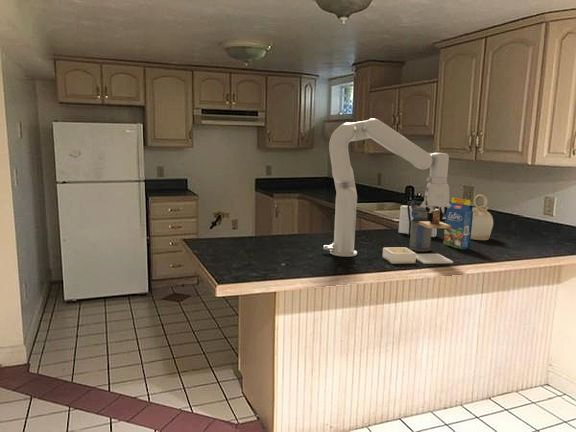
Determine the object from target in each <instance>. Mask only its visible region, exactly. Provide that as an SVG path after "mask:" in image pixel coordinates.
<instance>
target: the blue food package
mask: <svg viewBox="0 0 576 432" xmlns="http://www.w3.org/2000/svg"><path fill="white" fill-rule="evenodd" d="M449 203H450V204H451V207H449V208H447V210H446V211H445V222H444V223H446V224H448V225H451V228H444V232H443V233H444V234H443V242H442V244H443V245H445V246H447V247H452V248H454V249H457V250H468V249H470V248H471V247H470V246H471V240H472V239H471V230H472V220H473V211H472V207H471V199H464V198H459V197H451V202H449Z"/></svg>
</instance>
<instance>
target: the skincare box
mask: <svg viewBox="0 0 576 432" xmlns="http://www.w3.org/2000/svg"><path fill="white" fill-rule="evenodd" d="M435 210H439V208H436V209H435ZM411 213H412V208H411V206H410V217H411V220H412V219H414V218H413V217H412V215H411ZM398 220H399V221H398V233H400V234H407V235H408V234H409V218H408V209H407V205H400V208H399V218H398ZM437 230H438V228H432V233H431V238H435V237H437V232H438V231H437ZM410 234H411V231H410Z"/></svg>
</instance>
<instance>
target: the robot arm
mask: <svg viewBox="0 0 576 432" xmlns="http://www.w3.org/2000/svg"><path fill="white" fill-rule="evenodd" d="M367 139H371V140H373V142H374V141H375V143H377V144H379V145H381V146H382V147H383V148H385V149H386V150H387V151H389V152H391V153H393V154H395V155H397V156H399V157H401V158H403V159H404V160H406V161H408V162H409V163H410V164H412V165H413V166H414V167H415V168H417V169H418V170H419V169H420V170H425V171H426V170H427V169H429V177H427V178H426V181H427V182H428V183H427V184H426V189H425V193H424V198H423V199H424V200H423V201H422V202H423V203H422V204H420V205H421V206H422V207H423V208H424V209H425V210H426V211H427V212H428V215H427V219H428V221H429V222H432V220H433V213H432V210H433V207H436V208H437V207H438V209H439V210H440V221H439V222H443V219H444V213H446V211H447V208H449V207H451V204H450V203H451V202H450V186H449V184H448V174H449V173H448V171H449V159H450V156H449V154H448V153H446V152H445V153H444V152H433V153H432V152H427V151H425V150H424V149H423V148H421V147H420V146H419V145H417V144H416V143H413V142H412V141H411V140H409V139H408V138H407V137H405V136H404V135H402V134H401V133H399V132H398V131H396V130H395V129H393V128H392V127H390V126H389V125H388V124H386V123H384V122H382V121H381V120H380V119H377V118H373V117H372V118H369V119H367V120H362V121H356V122H344V123H342V124H341V125H339V126H338V127H337V128H336V129H335V130H334V131H332V134H331V136H330V138H329V144H328V151H329V156H330V164H331V173H332V174H331V175H332V178H333V182H334V186H335V187H334V188H335V191H336V195H335V207H334V208H335V209H334V210H335V212H334V213H335V214H334V231H333V232H334V233H333V236H334V237H333V242H332V243H331V244H329V245H328V244H324V245H323V250H327V251H329V254H331V255H333V256H335V257H336V256H337V257H345V258H346V257H348V258H351V257H356V256H357V255H358V251H357V250H355V237H356V236H355V235H356V220H357V207H358V206H357V203H358V194H357V188H356V182H355V175H354V169H353V167H352V165H351V161H350V160H351V159H350V153H349V144H350V142H356V141H363V140H367ZM426 205H428V207H427V206H426Z"/></svg>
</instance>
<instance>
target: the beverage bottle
mask: <svg viewBox="0 0 576 432" xmlns="http://www.w3.org/2000/svg"><path fill="white" fill-rule="evenodd" d="M422 203H423V201H417V200H409V201H407V204H406V206H407V209H408V218H409V234H407V236H406V237H409V236H410V237H409V238H410V239H409V246H408V247H409V249H410V250H411V251H413V250H414V251H413V252H419V253H425V252H429V251H430V250H431V248H432V247H431V242H432V237H431V233H432V228H427V227H424V226H422V225H420V224H419V222H421V221H428V219H427V215H428V212H427V211H426V210H425V209H424V208H423V207H422V206H421V204H422ZM410 206H411V208H412V213H411V215H412V217H413V218H414V219H412V220H411V217H410ZM426 206H427V207H428V205H426ZM435 209H437V207H433V210H435ZM410 231H411V234H410Z"/></svg>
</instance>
